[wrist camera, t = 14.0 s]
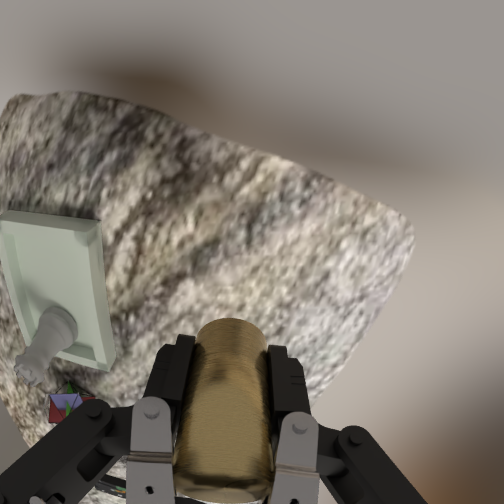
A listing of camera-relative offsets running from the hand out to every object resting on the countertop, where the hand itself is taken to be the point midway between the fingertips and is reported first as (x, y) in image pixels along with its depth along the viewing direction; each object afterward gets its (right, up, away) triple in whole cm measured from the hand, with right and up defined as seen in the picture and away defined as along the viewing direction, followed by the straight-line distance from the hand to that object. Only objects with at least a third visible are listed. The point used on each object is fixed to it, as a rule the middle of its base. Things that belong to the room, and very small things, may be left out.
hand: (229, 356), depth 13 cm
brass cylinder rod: (0, 0, +1) cm, 1 cm away
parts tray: (-18, +1, +13) cm, 22 cm away
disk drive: (-28, -48, +37) cm, 66 cm away
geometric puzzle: (-22, -14, +20) cm, 32 cm away
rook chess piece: (-18, -2, +13) cm, 23 cm away
